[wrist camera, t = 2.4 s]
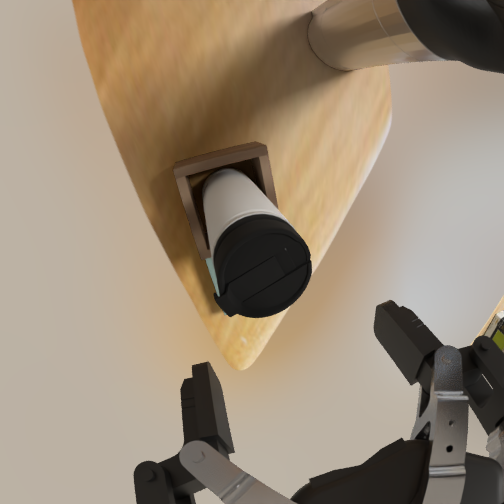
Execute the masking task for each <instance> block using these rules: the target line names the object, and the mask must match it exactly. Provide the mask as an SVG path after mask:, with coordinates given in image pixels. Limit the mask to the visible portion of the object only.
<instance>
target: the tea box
mask: <svg viewBox="0 0 504 504" xmlns="http://www.w3.org/2000/svg"><path fill="white" fill-rule="evenodd" d="M484 336H488V337H490V338H491V339H492V340H493V341H494V342H495V343H496V344H497V346H498V347H499V348H500V349H501V350H502V352H503V353H504V310H502V311H501V312H499V313H497V314H496V315H495V317H494V319H493V321H492V322H491V324H490V326H489V328H488V329H487V331H486V333H485V335H484Z"/></svg>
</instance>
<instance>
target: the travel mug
mask: <svg viewBox="0 0 504 504" xmlns="http://www.w3.org/2000/svg"><path fill="white" fill-rule="evenodd" d="M202 198H203V205H204V212H205V219H206V225H207V232H208V238H209V244H210V250H211V256H212V262H213V266H214V270H215V274H216V278H217V284H218V289H219V296H218V295H217V294H216V293H214V299H215V301H216V303H217V304H218V305H219V307H220V308H221V309H222V310H223V311H224V312H225V313H226V314H227V315H228V316H229V317H232V316H234V315H236V314H239V315H242V316H245V317H250V318H263V317H268V316H272V315H274V314H277V313H279V312H281V311H283V310H285V309H286V308H288V307H289V306H290V305H292V304H293V303H294V302H295V301H296V300H297V299H298V298H299V297H300V296H301V294H302V293H303V291H304V290H305V289H306V287H307V285H308V282H309V280H310V277H311V274H312V264H311V260H310V256H311V254H310V251H309V248H308V246H307V245H306V243H305V241H304V240H303V239H302V238H301V236H300V235H299V234H298V233H297V232H296V230H295V229H294V227H293V226H292V225H291V224H290V223H289V221H288V220H287V219H286V218H285V217H284V216H283V215H282V213H281V212H280V211H279V210H278V209H277V208H276V207H275V206H274V205H273V203H272V202H271V201H270V200H269V199H268V198H267V197H266V196H265V195H264V194H263V193H262V191H261V190H260V189H259V188H258V187H257V186H256V185H255V184H254V183H253V182H252V181H251V180H250V179H249V177H248V176H247V175H246V174H244V173H243V172H242V171H240V170H238V169H235V168H222V169H219V170H217V171H215V172H213V173H212V174H211V175H210V176H209V177H208V178H207V179H206V181H205V182H204V185H203V189H202Z"/></svg>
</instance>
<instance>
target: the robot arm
mask: <svg viewBox="0 0 504 504" xmlns="http://www.w3.org/2000/svg"><path fill="white" fill-rule="evenodd" d="M312 14H313V18H312V20H311V22H310V24H309V27H308V39H309V43H310V45H311V47H312V49H313V51H314V52H315V54H316V55H317V56H318V57H319V58H320V59H321V60H322V61H323V62H324V63H326V64H327V65H329V66H331V67H333V68H335V69H338V70H344V71H349V70H358V69H363V68H368V67H375V66H382V65H390V64H398V63H409V62H422V61H443V60H444V61H448V60H455V61H461V62H463V63H465V64H467V65H469V66H471V67H474V68H477V69H480V70H485V71H491V72H497V73H503V74H504V0H327V1H326V2H324V3H323V4H321V5H320V6H318V7H317V8H315V9H314V10H313V11H312ZM374 333H375V336H376V338H377V339H378V341H379V342H380V343H381V345H382V346H383V347H384V349H385V350H386V351H387V353H388V354H389V355H390V357H391V358H392V359H393V361H394V362H395V364H396V365H397V367H398V368H399V369H400V371H401V372H402V374H403V375H404V376H405V378H406V379H407V381H408V382H409V383H410V385H413V384H415V383H416V382H419V383H420V389H419V399H418V408H417V416H416V422H415V425H414V427H413V430H412V433H411V438H410V440H407V441H404V440H403V438H401V439H399V440H397V441H395V442H393V443H391V444H389V445H388V446H386V447H384V448H382V449H380V450H379V451H378V452H377V453H376V454H375V455H373V456H372V457H371V458H369V459H368V460H367V461H366V462H364V463H363V464H361V465H359V466H354V467H349V468H344V469H338V470H333V471H330V472H327V473H325V474H322V475H319V476H316V477H314V478H311V479H309V480H310V482H309V483H308V484H306V485H305V486H303V487H302V488H300V489H299V490H298V491H297V492H296V493H295V494H294V495H293V496H292V498H291V499H288V498H286V497H285V496H283V495H281V494H279V493H278V492H276V491H274V490H273V489H271V488H270V487H268V486H266V485H265V484H263V483H262V482H260V481H259V480H257V479H256V478H254V477H253V476H251V475H249V474H247V473H246V472H244V471H243V470H242V469H240V468H239V467H237V466H236V465H235V464H233V463H232V462H231V461H230V459H229V455H228V454H230V453H234V452H235V451H234V447H233V442H232V437H231V433H230V428H229V423H228V418H227V413H226V408H225V402H224V397H223V392H222V388H221V384H220V382H219V379H218V378H217V376H216V374H215V372H214V370H213V368H212V367H211V364H210V363H209V362H204V363H200V364H196V365H192V375H193V377H192V378H187V379H184V381H183V384H182V387H181V389H180V390H181V401H182V402H181V406H182V420H183V432H184V444H183V447H182V449H181V450H180V452H179V453H178V454H177V455H175V456H173V457H171V458H169V459H167V460H164V461H162V462H160V463H155V462H153V461H145V462H142V463H140V464H139V465H138V466H137V467H136V468H135V471H134V484H135V494H136V502H137V504H196V503H195V499H194V493H196V492H198V491H201V490H203V489H205V488H208V489H210V490H211V491H212V492H213V493H214V494H216V495H217V496H218V497H219V498H220V499H221V500H222V501H223V502H224V503H225V504H504V353H503V352H502V350H501V349H500V348H499V347H498V346H497V344H496V343H495V342H494V341H493V340H492V339H491V338H490V337H488V336H479V337H477V338H476V339H475V340H474V342H473V344H472V345H471V346H467V347H464V348H460V349H456V348H455V347H453V346H448V345H447V346H444V345H443V344H442V343H441V342H440V341H439V340H438V338H436V336H435V335H434V334H433V333H432V332H431V331H430V330H429V329H428V327H427V326H426V325H424V324H423V322H422V321H421V320H420V319H418V317H417V316H416V315H415V313H414V312H413V311H412V310H410V309H407V308H406V307H404V306H402V307H399V306H398V305H397V304H396V303H395V302H394V301H392V300H389V301H387V302H384V303H382V304H380V305H378V306H377V307H376V313H375V321H374ZM482 374H483V375H484V376H485V378H486V379H487V380H488V382H489V383H490V385H491V386H492V388H493V389H492V388H491V387H490V385H489V384H488V382H487V381H486V380H485V378H484V377H483V375H482ZM468 404H469V405H470V407H471V408H472V410H473V411H474V413H475V414H476V416H477V418H478V419H479V421H480V423H481V424H482V426H483V428H484V429H485V431H486V433H487V434H488V436H489V437H488V441H487V446H486V450H487V451H488V452H489V453H490V454H489V457H484V456H480V455H476V454H472V453H468V452H466V445H467V433H468V407H469V405H468Z"/></svg>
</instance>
